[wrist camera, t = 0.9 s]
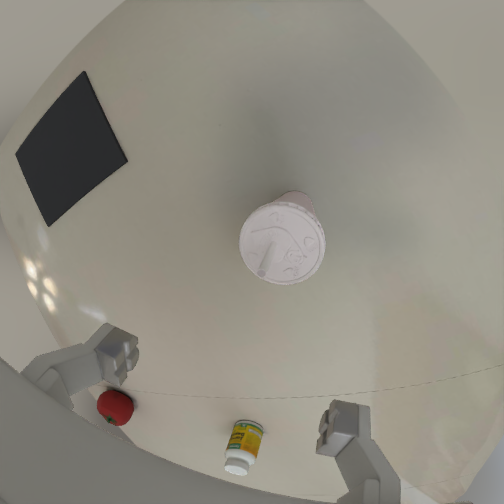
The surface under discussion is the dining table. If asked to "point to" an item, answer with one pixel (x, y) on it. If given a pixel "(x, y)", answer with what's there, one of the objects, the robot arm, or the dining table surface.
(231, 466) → the supplement bottle
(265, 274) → the smoothie
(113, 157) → the mat
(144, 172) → the dining table surface
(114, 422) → the tomato
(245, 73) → the dining table surface
